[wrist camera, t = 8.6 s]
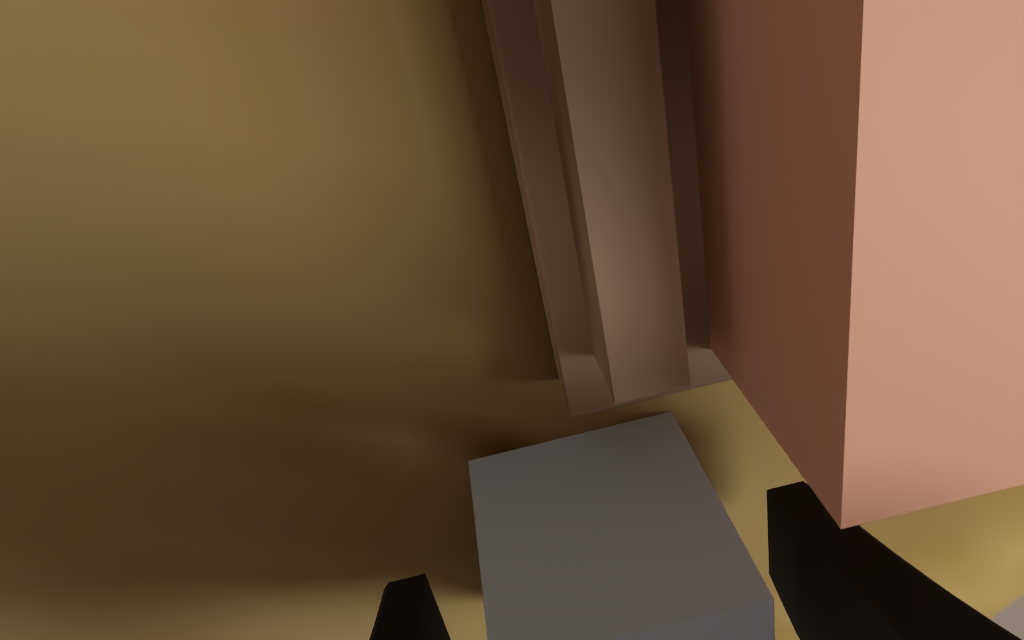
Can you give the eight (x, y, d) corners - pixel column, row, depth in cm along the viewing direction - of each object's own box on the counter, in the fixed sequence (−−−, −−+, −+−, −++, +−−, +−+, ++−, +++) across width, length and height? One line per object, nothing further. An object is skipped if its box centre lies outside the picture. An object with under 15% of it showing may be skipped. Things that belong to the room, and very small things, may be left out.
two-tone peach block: (947, 292, 10) (1178, 446, 7) (710, 349, 10) (840, 528, 7) (1039, -467, 6) (1625, -836, 3) (658, -378, 6) (894, -669, 3)
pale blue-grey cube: (686, 551, 14) (778, 756, 11) (509, 595, 14) (543, 815, 11) (670, 409, 12) (773, 598, 9) (468, 458, 12) (490, 669, 9)
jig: (1032, 267, 12) (1155, 333, 10) (559, 382, 12) (588, 470, 10) (1204, -668, 7) (1524, -909, 5) (382, -483, 7) (372, -647, 5)
